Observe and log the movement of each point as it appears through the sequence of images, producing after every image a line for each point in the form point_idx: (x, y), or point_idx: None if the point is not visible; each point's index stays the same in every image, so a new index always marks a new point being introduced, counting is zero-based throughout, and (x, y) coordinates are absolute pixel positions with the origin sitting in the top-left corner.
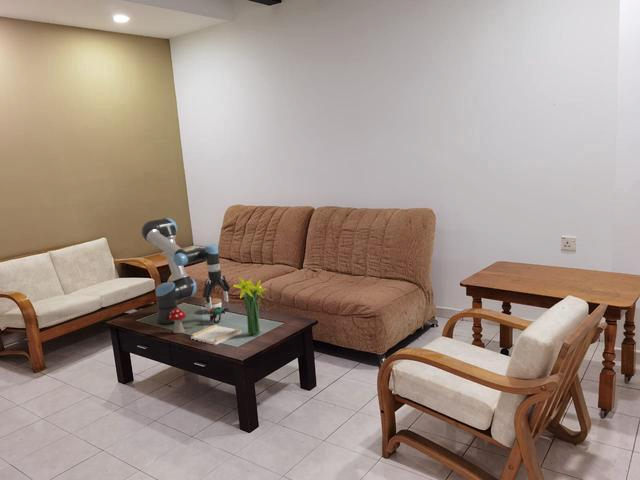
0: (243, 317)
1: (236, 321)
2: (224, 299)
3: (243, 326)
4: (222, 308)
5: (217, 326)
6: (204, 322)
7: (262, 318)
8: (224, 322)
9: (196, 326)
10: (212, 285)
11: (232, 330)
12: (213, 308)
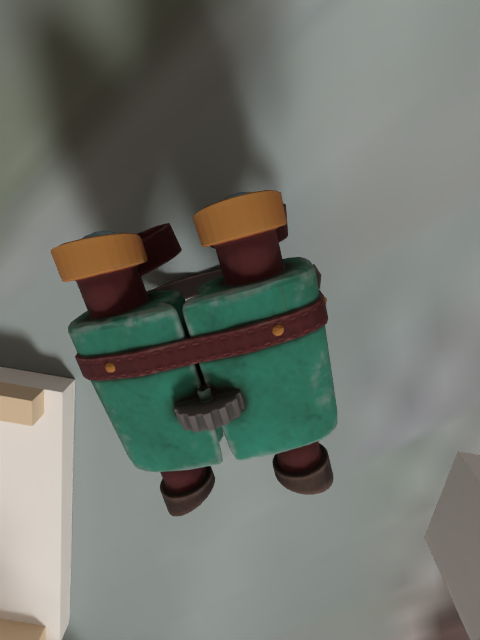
0: (446, 457)
1: None
2: (477, 496)
3: (201, 573)
4: (236, 452)
5: (46, 413)
6: (176, 79)
7: (435, 622)
8: None
9: (10, 79)
10: None
11: (27, 588)
12: (228, 243)
